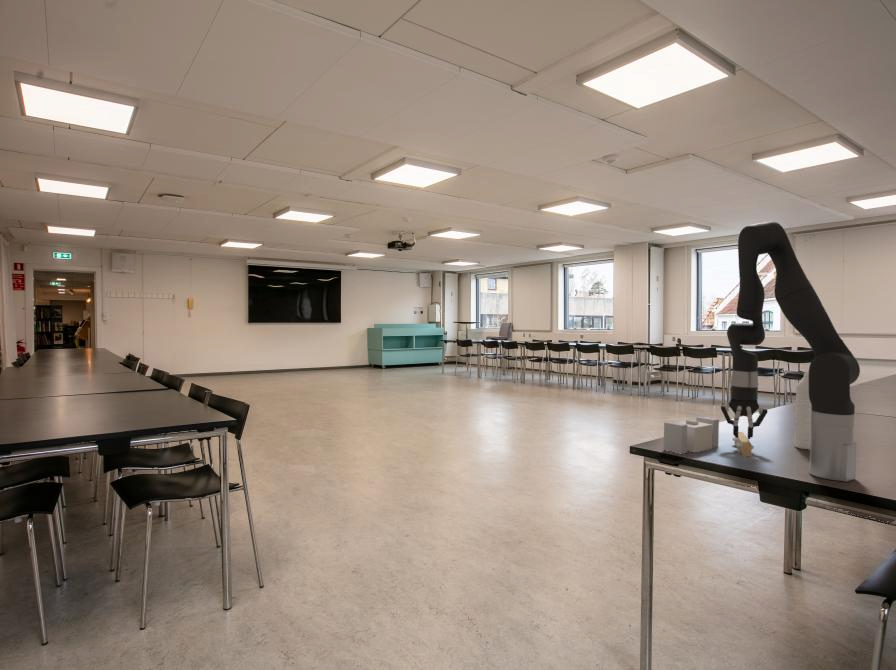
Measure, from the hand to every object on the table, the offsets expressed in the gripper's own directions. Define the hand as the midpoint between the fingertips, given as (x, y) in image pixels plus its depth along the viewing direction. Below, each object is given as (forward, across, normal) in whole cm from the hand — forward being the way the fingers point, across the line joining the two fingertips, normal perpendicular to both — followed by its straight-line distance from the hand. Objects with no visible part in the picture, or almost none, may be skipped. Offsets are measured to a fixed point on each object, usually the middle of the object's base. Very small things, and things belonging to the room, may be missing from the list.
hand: (742, 437), depth 166 cm
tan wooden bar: (+4, 0, 0) cm, 4 cm away
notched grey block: (+4, +15, +8) cm, 17 cm away
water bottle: (+4, -20, -14) cm, 25 cm away
